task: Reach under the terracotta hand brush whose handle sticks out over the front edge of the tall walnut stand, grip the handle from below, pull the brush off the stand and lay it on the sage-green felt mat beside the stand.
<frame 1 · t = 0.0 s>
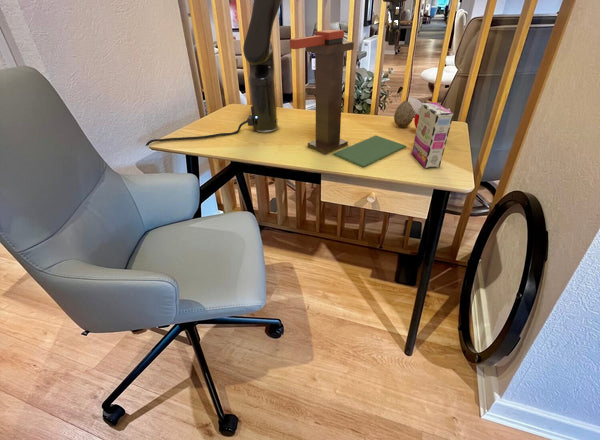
hand: (389, 43, 104), 29 cm above the table, tool pointing down, fingers open, 8 cm apart
candy bar box: (425, 161, 98), on the table
brush: (322, 44, 89), point 32 cm above the table, touching stand
decorative egg: (401, 127, 122), on the table
stand: (327, 146, 109), on the table
felt mat: (370, 150, 105), on the table
magnet: (428, 135, 114), on the table
sauce bottle: (260, 107, 150), on the table
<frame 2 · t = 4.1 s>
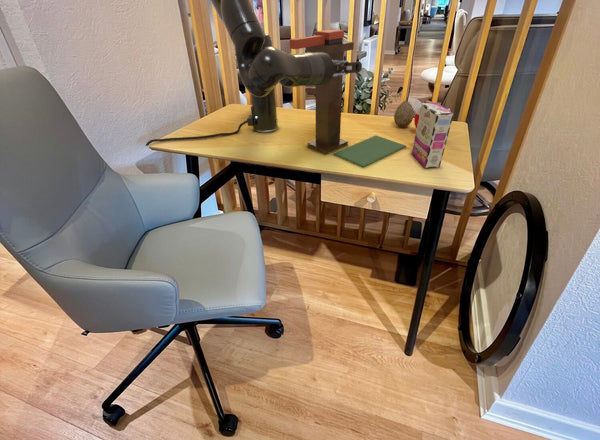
hand: (348, 67, 88), 27 cm above the table, tool horizontal, fingers open, 7 cm apart
nothing on the table moved.
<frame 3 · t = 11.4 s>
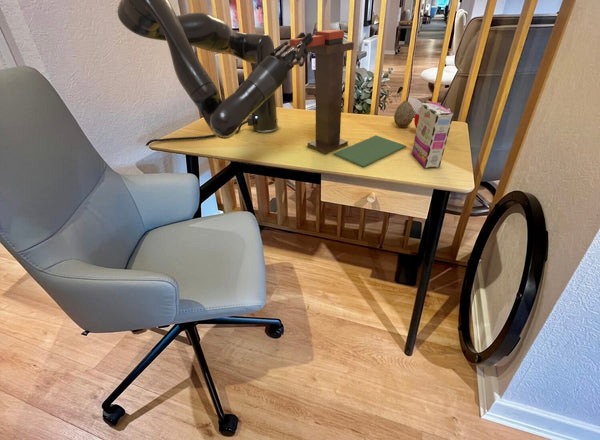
hand: (307, 35, 85), 35 cm above the table, tool pointing upward, fingers closed on brush, 2 cm apart
brush: (322, 44, 89), point 32 cm above the table, touching gripper, stand
everything else where it was.
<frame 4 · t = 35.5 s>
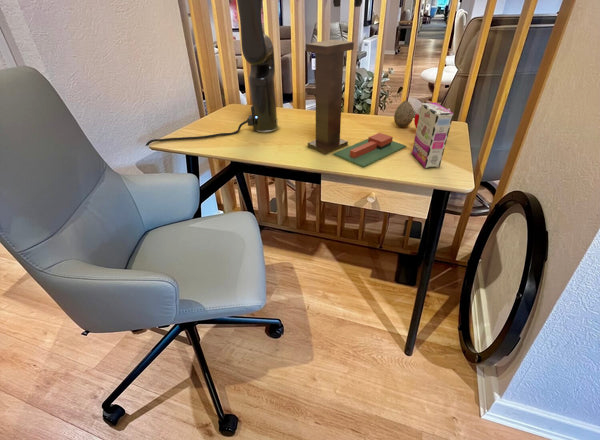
hand: (346, 6, 95), 40 cm above the table, tool pointing down, fingers open, 8 cm apart
brush: (374, 147, 105), point 1 cm above the table, touching felt mat
everything else where it was.
at the end: brush 1.8 cm from the felt mat (horizontally); brush touching felt mat; brush tilted 0° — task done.
